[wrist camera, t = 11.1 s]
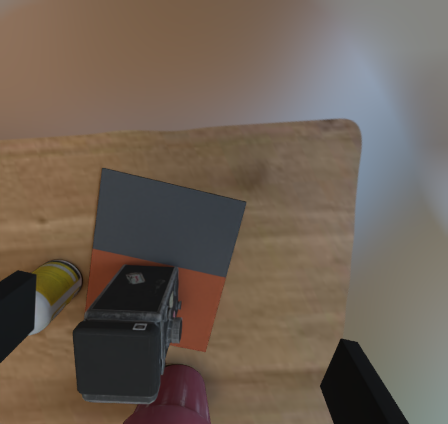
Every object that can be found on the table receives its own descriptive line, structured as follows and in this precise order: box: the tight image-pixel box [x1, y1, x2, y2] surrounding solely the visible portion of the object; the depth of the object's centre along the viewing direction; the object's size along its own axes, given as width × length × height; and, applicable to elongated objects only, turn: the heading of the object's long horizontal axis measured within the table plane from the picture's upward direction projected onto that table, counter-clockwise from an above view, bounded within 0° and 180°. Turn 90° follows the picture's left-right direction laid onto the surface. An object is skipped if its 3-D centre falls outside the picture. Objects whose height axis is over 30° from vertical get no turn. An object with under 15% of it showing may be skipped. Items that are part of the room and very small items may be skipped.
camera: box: [73, 264, 182, 404], centre depth 33 cm, size 10×10×15 cm
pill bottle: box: [29, 260, 82, 335], centre depth 34 cm, size 6×6×12 cm
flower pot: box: [123, 365, 211, 424], centre depth 39 cm, size 14×14×13 cm
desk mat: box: [85, 168, 246, 352], centre depth 39 cm, size 20×26×1 cm
